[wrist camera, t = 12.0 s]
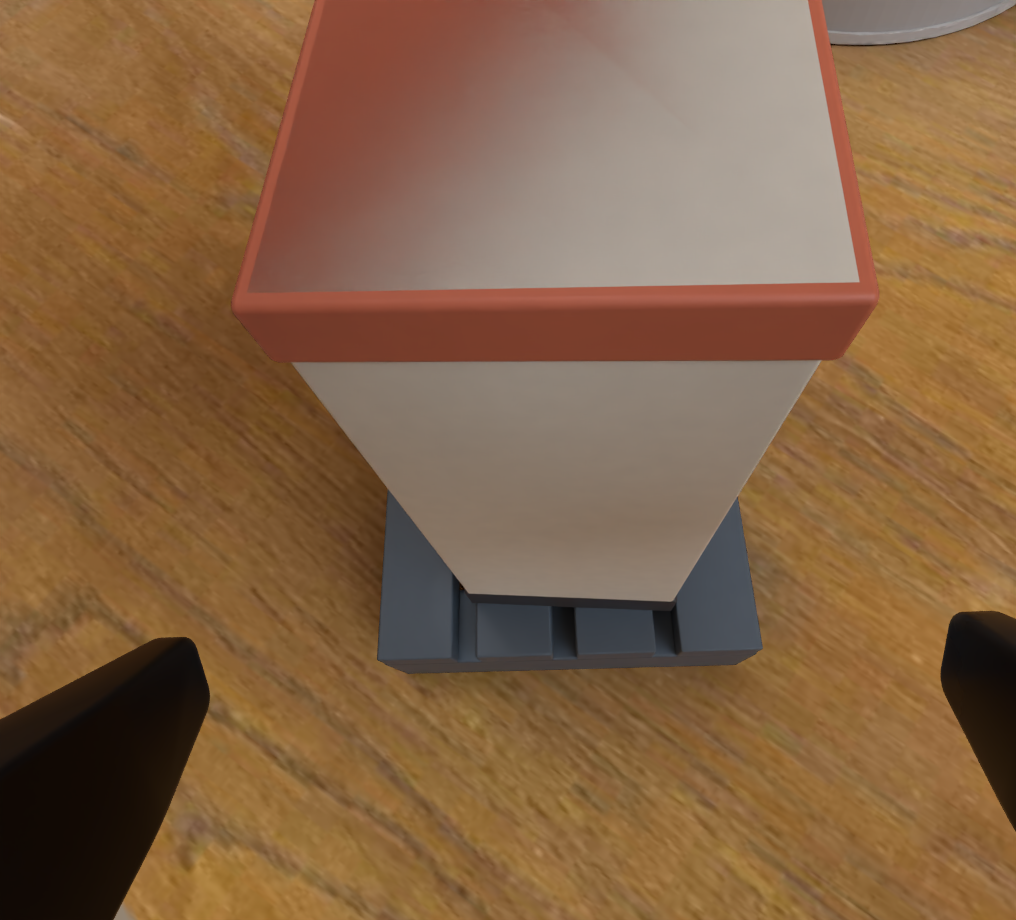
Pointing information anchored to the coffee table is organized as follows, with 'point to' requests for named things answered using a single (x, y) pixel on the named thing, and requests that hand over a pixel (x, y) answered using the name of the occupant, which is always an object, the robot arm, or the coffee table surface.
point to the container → (904, 18)
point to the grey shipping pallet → (560, 616)
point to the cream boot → (561, 269)
